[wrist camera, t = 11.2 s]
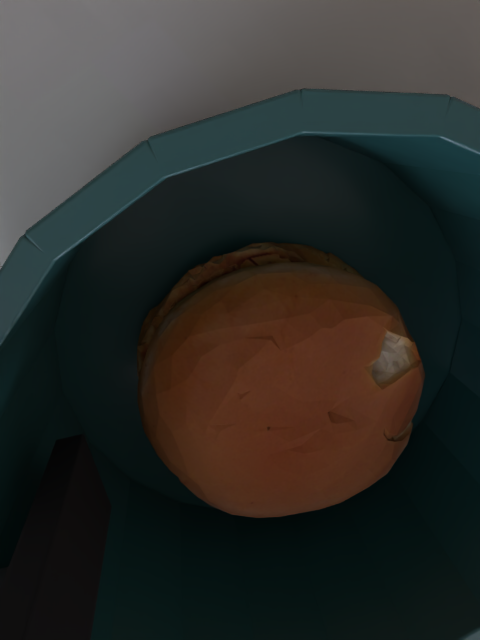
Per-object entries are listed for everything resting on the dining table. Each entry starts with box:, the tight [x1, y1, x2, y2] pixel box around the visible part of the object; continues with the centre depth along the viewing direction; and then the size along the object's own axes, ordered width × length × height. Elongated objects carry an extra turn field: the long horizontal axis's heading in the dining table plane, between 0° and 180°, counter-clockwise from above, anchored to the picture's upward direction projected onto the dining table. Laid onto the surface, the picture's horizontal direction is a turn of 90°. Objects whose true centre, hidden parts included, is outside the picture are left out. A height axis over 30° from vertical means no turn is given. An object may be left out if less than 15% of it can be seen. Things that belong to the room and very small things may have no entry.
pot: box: [0, 88, 480, 640], centre depth 15 cm, size 17×17×8 cm
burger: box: [137, 242, 425, 518], centre depth 16 cm, size 10×9×5 cm
